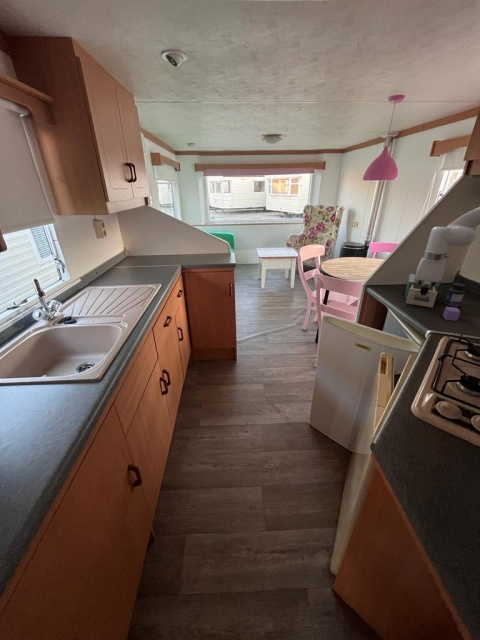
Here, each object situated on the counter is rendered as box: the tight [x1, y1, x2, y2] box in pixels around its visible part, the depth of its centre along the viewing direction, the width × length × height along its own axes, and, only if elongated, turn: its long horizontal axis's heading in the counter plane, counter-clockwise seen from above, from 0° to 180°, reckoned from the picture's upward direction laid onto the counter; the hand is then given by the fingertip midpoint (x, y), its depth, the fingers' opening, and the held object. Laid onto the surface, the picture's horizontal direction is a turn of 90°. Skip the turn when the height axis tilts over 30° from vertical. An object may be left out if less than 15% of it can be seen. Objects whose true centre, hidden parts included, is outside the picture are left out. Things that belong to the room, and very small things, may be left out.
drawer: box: [405, 283, 439, 308], centre depth 132 cm, size 18×11×8 cm, turn 149°
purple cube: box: [442, 306, 461, 322], centre depth 119 cm, size 4×4×4 cm
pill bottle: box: [444, 282, 466, 308], centre depth 129 cm, size 6×6×11 cm
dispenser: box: [404, 273, 440, 300], centre depth 141 cm, size 15×13×10 cm
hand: (423, 294), depth 126 cm, fingers closed
